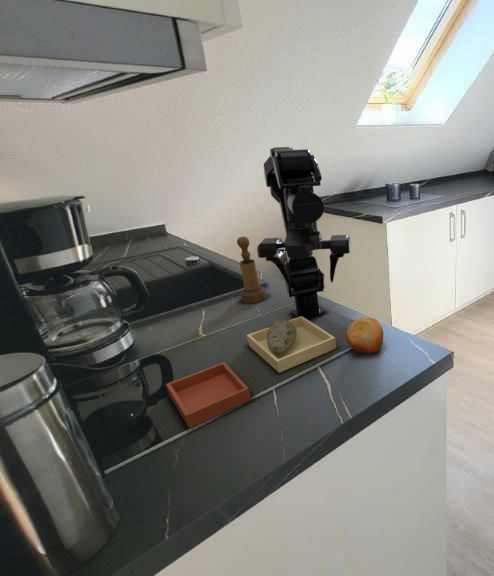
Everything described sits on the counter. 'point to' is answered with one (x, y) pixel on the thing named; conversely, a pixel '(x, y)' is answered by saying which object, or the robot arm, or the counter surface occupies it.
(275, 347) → the decorative egg
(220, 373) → the terracotta tray
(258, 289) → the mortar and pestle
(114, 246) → the counter surface
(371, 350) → the fruit
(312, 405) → the counter surface
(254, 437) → the counter surface
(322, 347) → the sand tray
